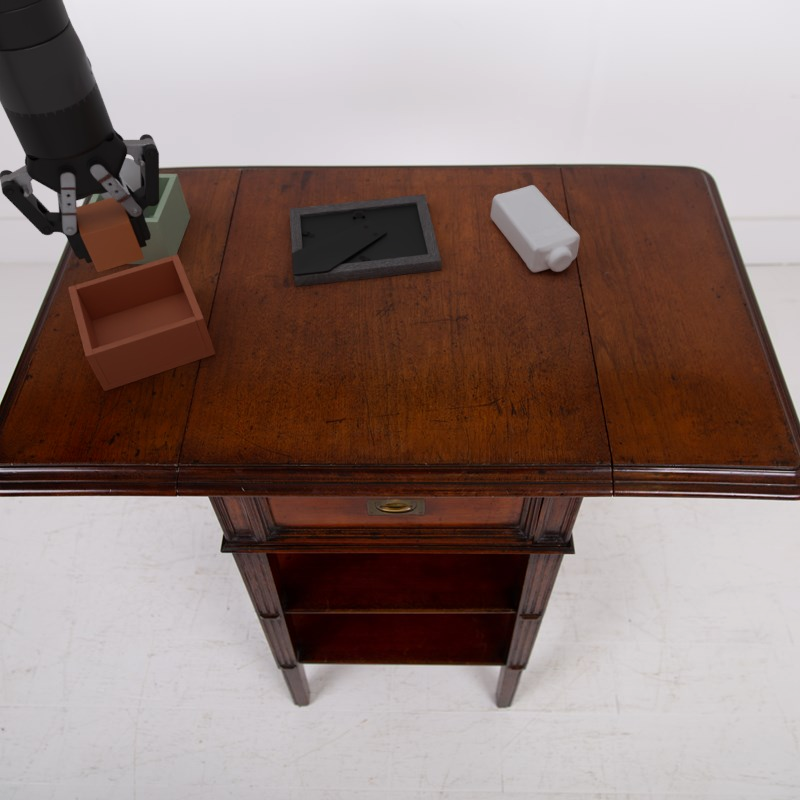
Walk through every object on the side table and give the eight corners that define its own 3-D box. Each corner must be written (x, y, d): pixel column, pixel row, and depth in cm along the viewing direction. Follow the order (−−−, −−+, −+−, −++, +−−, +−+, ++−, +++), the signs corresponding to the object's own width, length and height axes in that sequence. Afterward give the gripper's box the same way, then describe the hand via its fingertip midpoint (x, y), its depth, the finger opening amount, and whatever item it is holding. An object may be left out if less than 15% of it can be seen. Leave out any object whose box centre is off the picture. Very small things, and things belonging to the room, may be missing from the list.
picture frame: (295, 286, 92) (441, 270, 93) (293, 274, 91) (441, 257, 92) (291, 218, 101) (425, 203, 102) (288, 206, 99) (425, 191, 100)
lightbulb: (141, 257, 95) (112, 183, 87) (110, 239, 98) (79, 165, 89) (177, 231, 98) (153, 158, 90) (146, 214, 101) (119, 141, 92)
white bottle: (536, 284, 91) (540, 257, 88) (489, 221, 99) (491, 194, 95) (583, 269, 93) (589, 242, 89) (533, 209, 100) (537, 182, 97)
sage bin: (172, 265, 95) (157, 221, 90) (98, 263, 96) (79, 220, 91) (190, 217, 101) (177, 173, 96) (120, 215, 102) (103, 172, 97)
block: (97, 272, 72) (80, 235, 69) (90, 244, 75) (73, 207, 72) (144, 259, 73) (129, 221, 70) (135, 231, 76) (120, 194, 73)
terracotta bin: (104, 391, 83) (85, 356, 78) (86, 323, 90) (67, 287, 85) (215, 354, 86) (203, 318, 81) (190, 290, 92) (177, 253, 88)
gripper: (-45, 131, 57) (46, 296, 70) (144, 85, 60) (196, 251, 73) (-50, 84, 61) (37, 248, 75) (126, 43, 64) (179, 207, 78)
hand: (116, 248), depth 74 cm, fingers closed on block, 4 cm apart
